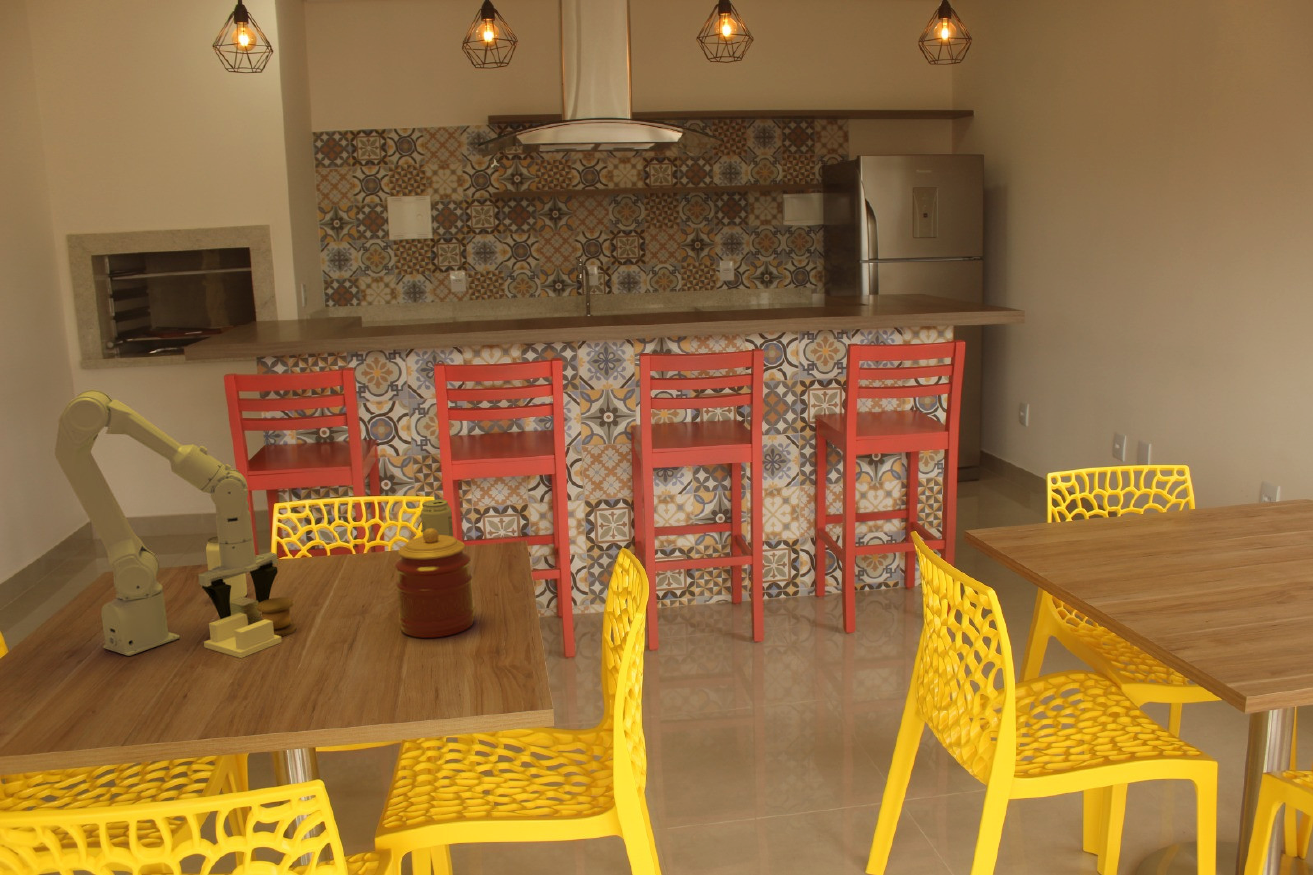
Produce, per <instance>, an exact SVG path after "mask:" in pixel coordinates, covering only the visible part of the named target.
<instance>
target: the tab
mask: <svg viewBox="0 0 1313 875" xmlns="http://www.w3.org/2000/svg"><path fill="white" fill-rule="evenodd" d="M257 604H258V600H256V599H253V598H249V597H246V596H245V597H240V598H237V599H234V600H231V601H230V610H231V616H232V615H235V614H237V613H243V614H247V620H248V625H251V624H254V623H256V622H259V621H261V616H260V611H258V610H257Z"/></svg>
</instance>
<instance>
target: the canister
mask: <svg viewBox="0 0 1313 875" xmlns="http://www.w3.org/2000/svg"><path fill="white" fill-rule="evenodd" d="M465 548H466V545H465V543H464V542H462V541H461V540H459V539H456V537H454V536H453V537H452V536H447V535H438V532H437V531H436V530H435V529H433V528H429V529H426V530H425V531H424V534H423V533H422V536H418V537H415V538H412V539H410V540H408V541H407V542H406V544H404V545H403V546H401V547H400V548H399V549H398V552H397V553H398V555H399V556H400V558H399V559H397V560H396V561H395V563H394V568H395V570H396V571H397V572H398V573H397V574H398V578H397V580H396V581H395V582H396V583H395V586H396V588H397V598H398V610H399V614H398V619H399V621H398V622H399V625H400V628H401V631H402V633H404V634H405V635H407V636H410V637H415V638H423V639H425V638H426V639H427V638H428V639H431V638H432V639H433V638H434V639H435V638H442V637H443V638H444V637H448V636H452V635H455V634H456V635H457V634H459V633H461V632H464V631H466V630H468V629H469V628H470V627H472V625H473V624H474V618H475V614H476V613H475V607H474V602H473V601H474V600H473V589H472V588H473V587H472V579H473V575H472V573H471V572H470V571H469V564H470V562H471V559H472V558H471V556H470V554H468V553H467V552H465V551H464V549H465Z"/></svg>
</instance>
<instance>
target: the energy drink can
mask: <svg viewBox="0 0 1313 875" xmlns="http://www.w3.org/2000/svg"><path fill="white" fill-rule="evenodd" d="M448 502H449V501H448V500H445V499H433V500H427V501H425V502H423V503H422V504H423V507H422V509H421V511H420V517H421V529H422V535H423V534H424V531H425V530H426V529H429V528H433V529H435V530H436V531H437V532H438V535H447V536H452V537H454V530H453V529H454V528H453V526H454V525H453V515H452V513H453V512H452V508H451V506H450V505H449V504H448Z"/></svg>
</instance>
